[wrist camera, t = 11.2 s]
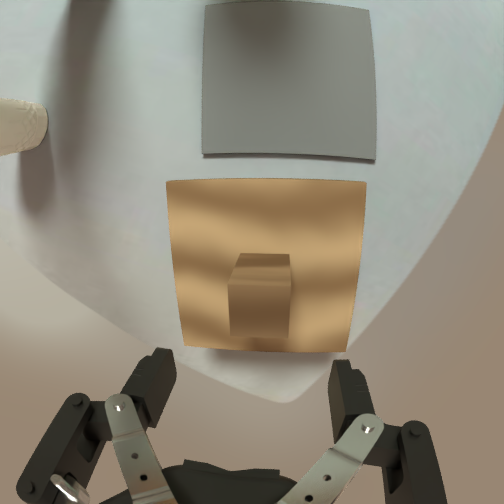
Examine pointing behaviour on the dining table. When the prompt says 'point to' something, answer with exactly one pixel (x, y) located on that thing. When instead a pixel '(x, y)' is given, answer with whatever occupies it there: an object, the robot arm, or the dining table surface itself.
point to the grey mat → (288, 79)
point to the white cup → (21, 125)
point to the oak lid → (266, 261)
